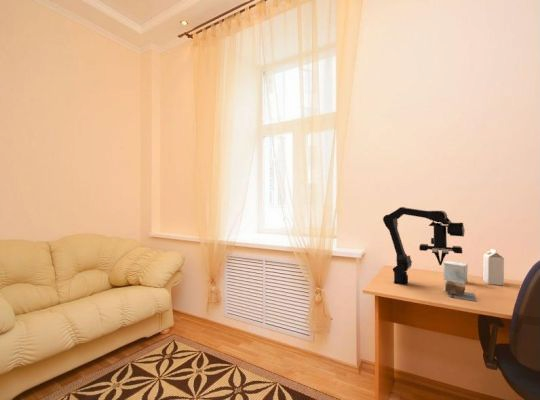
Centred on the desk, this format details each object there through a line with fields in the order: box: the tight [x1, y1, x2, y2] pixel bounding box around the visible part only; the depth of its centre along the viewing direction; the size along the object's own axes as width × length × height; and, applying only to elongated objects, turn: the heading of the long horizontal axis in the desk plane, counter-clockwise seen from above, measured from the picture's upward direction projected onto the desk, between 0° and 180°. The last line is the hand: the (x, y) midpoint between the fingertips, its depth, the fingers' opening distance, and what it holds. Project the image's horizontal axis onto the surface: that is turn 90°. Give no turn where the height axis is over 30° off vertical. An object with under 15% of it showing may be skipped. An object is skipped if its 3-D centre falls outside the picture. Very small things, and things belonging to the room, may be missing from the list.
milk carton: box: [482, 248, 505, 286], centre depth 156 cm, size 7×7×19 cm
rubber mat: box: [452, 291, 477, 303], centre depth 137 cm, size 9×12×1 cm
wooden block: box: [443, 280, 466, 296], centre depth 138 cm, size 4×4×8 cm
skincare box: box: [443, 260, 469, 285], centre depth 160 cm, size 10×6×10 cm, turn 42°
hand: (440, 265), depth 144 cm, fingers closed
